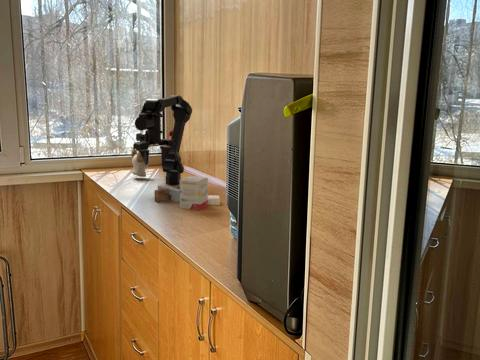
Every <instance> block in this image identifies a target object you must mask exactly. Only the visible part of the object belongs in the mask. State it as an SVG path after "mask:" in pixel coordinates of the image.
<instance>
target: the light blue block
mask: <svg viewBox="0 0 480 360" xmlns="http://www.w3.org/2000/svg"><path fill="white" fill-rule="evenodd" d="M172 187H173V186H169V185H166V184H165V185H163V184H160V185H157V190H158V189H163V188H165V189H168V194H169V195H171V200H170V201H171V202H176V203H180V189H176V188H172Z"/></svg>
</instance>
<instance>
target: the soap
mask: <svg viewBox="0 0 480 360" xmlns="http://www.w3.org/2000/svg"><path fill="white" fill-rule="evenodd" d="M220 202H221V197H220V195H218V194H217V195H215V194H214V195H211V194H208V206H209V205H212V206H219V205H221V203H220Z"/></svg>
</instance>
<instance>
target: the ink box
mask: <svg viewBox="0 0 480 360" xmlns="http://www.w3.org/2000/svg"><path fill="white" fill-rule="evenodd" d="M208 179H209V178H208V177H202V176H196V175H195V176H194V175H188V176H185V177H183V178H181V179H180V184H179V185H180V202H179V209H187V210H194V211H195V210H196V211H201V210H203V209H205V208H206V207H208V206H209V205H208V195H209V191H208V189H209V188H208V187H209V184H208V181H209V180H208Z"/></svg>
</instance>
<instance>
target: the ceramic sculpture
mask: <svg viewBox="0 0 480 360" xmlns="http://www.w3.org/2000/svg"><path fill="white" fill-rule="evenodd" d="M130 154H131V163H132V167H133V168H132V170H131V173H132V175H134V176H137V177H140V178H147V172H146V169H147V168H148V167H149V164H150V162H149V161H148V165H145V163H144V160H143V158H142V155H141V153H140V152H139V151H137V150H136V149H133V148H132V150H131V153H130Z"/></svg>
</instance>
